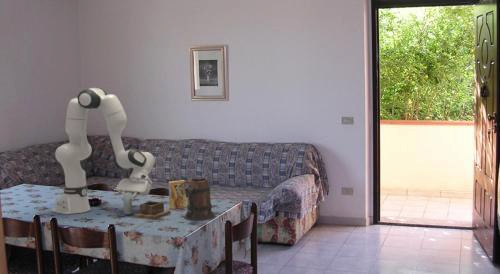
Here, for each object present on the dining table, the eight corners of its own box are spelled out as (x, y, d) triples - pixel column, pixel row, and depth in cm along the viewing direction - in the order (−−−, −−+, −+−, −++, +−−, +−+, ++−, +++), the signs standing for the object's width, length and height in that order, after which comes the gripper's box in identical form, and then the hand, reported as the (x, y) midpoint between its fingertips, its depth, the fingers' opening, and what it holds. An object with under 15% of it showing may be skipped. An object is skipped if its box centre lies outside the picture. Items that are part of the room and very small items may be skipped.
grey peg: (122, 213, 298) (121, 193, 297) (127, 211, 302) (126, 191, 301) (128, 214, 296) (127, 194, 295) (133, 212, 300) (133, 192, 299)
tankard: (190, 212, 303) (189, 176, 301) (220, 213, 298) (218, 177, 296) (173, 223, 280) (171, 184, 278) (204, 225, 276) (203, 185, 274)
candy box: (183, 206, 319) (182, 179, 317) (186, 207, 315) (185, 180, 314) (169, 208, 314) (168, 181, 313) (172, 209, 311) (171, 182, 309)
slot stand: (133, 217, 295) (133, 205, 295) (149, 211, 308) (149, 199, 307) (155, 219, 289) (154, 207, 288) (170, 213, 301) (170, 201, 301)
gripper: (120, 174, 308) (109, 194, 301) (150, 176, 299) (139, 198, 292) (125, 180, 313) (115, 201, 305) (155, 183, 304) (144, 204, 296)
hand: (127, 199), depth 298 cm, fingers closed on grey peg, 4 cm apart
